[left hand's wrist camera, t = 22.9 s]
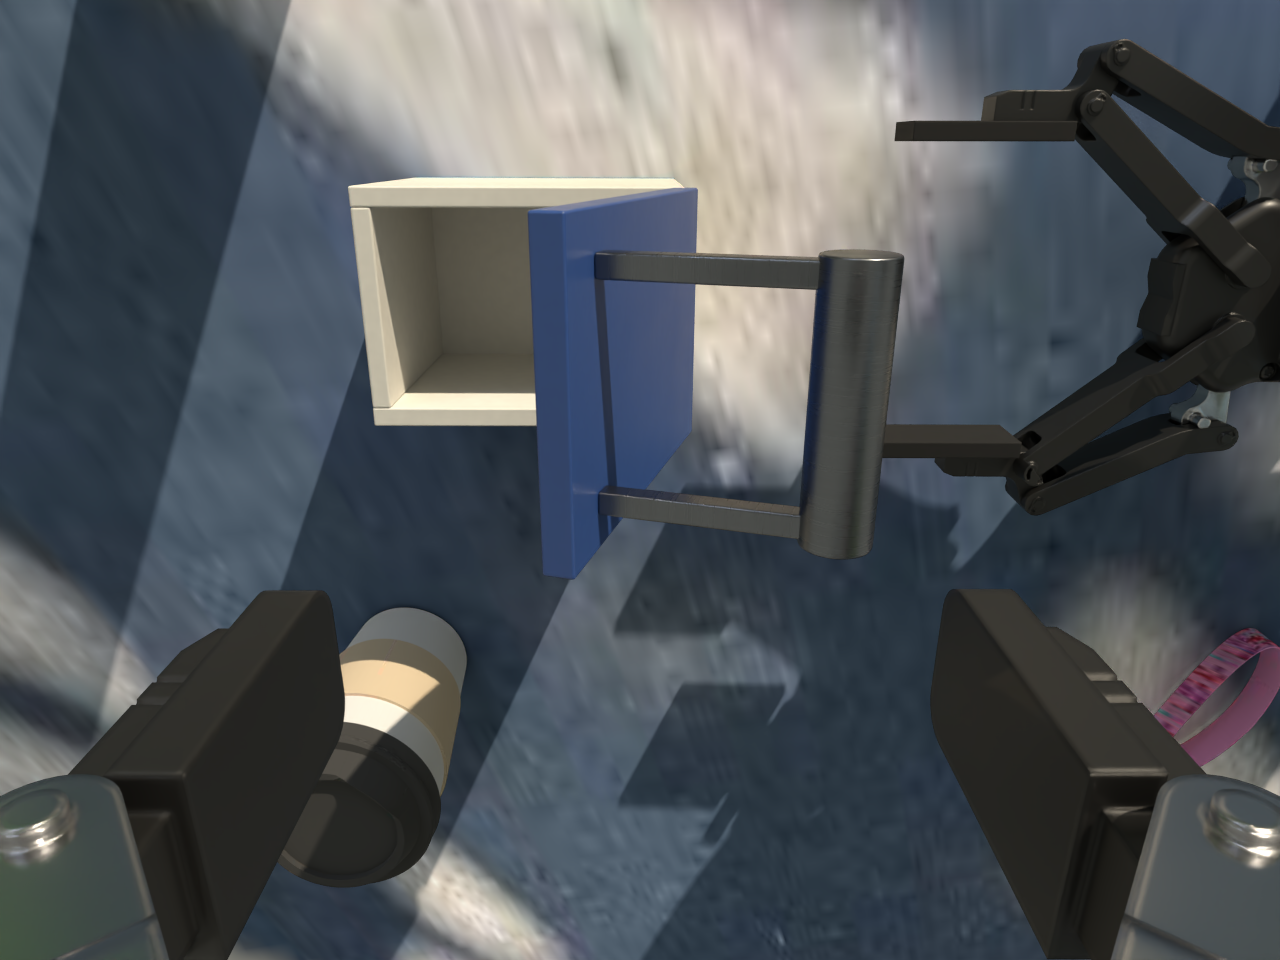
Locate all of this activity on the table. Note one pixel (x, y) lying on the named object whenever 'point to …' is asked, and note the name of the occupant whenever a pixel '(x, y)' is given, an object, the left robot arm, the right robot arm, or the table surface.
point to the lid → (691, 376)
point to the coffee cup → (384, 754)
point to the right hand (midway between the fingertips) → (885, 296)
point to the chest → (456, 292)
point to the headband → (1243, 713)
